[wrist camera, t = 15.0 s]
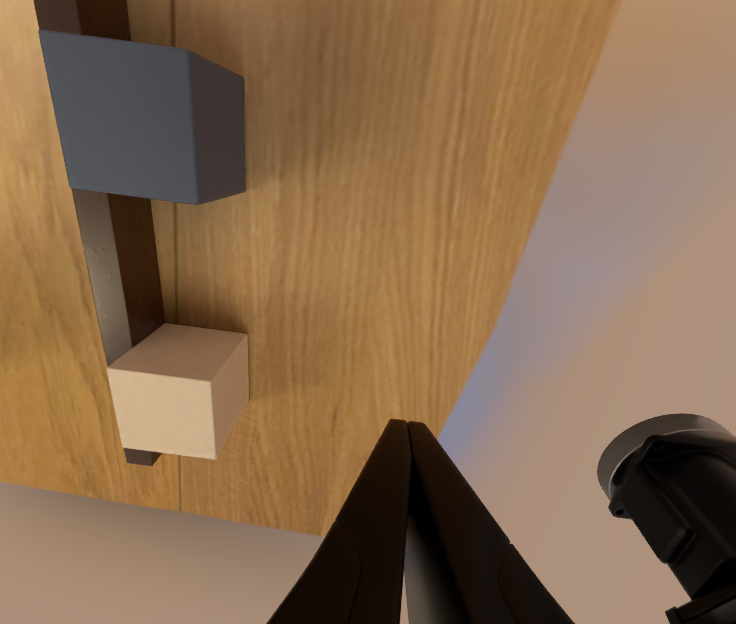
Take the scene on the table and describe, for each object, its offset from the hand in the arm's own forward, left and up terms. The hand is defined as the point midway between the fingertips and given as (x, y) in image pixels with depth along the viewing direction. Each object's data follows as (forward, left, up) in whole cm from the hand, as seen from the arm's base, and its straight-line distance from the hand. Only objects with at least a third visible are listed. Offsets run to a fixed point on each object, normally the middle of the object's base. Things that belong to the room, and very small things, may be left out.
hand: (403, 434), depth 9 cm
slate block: (+11, -6, -12) cm, 17 cm away
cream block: (+11, +7, -12) cm, 18 cm away
